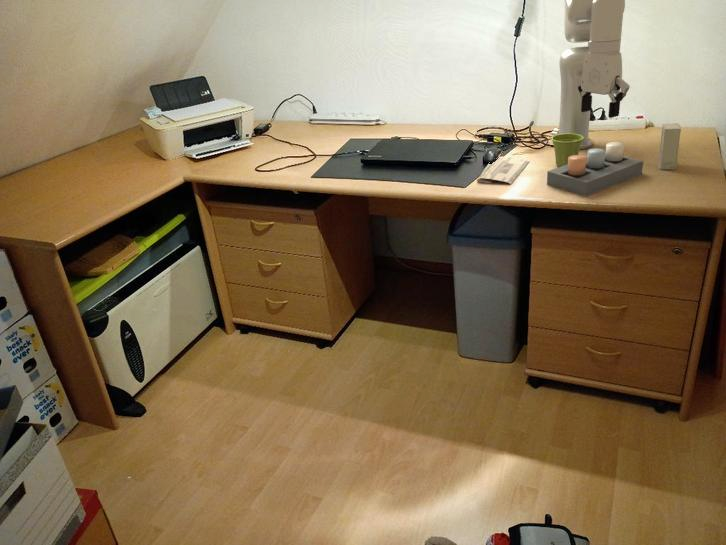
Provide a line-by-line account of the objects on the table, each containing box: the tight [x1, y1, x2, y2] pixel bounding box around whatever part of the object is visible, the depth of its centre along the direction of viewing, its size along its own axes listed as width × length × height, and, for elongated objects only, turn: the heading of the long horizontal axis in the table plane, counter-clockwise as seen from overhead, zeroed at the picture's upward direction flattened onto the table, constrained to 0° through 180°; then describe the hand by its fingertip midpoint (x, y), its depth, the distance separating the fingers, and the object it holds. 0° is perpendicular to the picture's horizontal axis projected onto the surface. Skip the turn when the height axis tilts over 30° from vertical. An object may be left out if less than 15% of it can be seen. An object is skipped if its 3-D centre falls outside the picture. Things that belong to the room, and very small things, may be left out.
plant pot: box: [551, 133, 583, 167], centre depth 190 cm, size 9×9×9 cm
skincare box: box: [658, 122, 682, 170], centre depth 178 cm, size 6×4×12 cm
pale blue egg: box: [586, 148, 606, 168], centre depth 175 cm, size 5×5×4 cm
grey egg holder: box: [546, 152, 644, 197], centre depth 177 cm, size 14×24×4 cm, turn 122°
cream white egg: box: [605, 141, 625, 161], centre depth 178 cm, size 5×5×4 cm
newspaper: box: [476, 156, 530, 185], centre depth 192 cm, size 23×12×2 cm, turn 152°
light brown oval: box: [567, 154, 587, 175], centre depth 171 cm, size 5×5×4 cm
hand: (599, 113), depth 165 cm, fingers open, 9 cm apart
